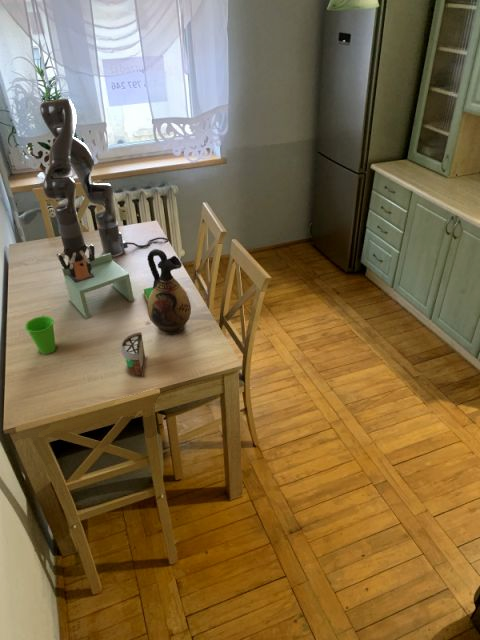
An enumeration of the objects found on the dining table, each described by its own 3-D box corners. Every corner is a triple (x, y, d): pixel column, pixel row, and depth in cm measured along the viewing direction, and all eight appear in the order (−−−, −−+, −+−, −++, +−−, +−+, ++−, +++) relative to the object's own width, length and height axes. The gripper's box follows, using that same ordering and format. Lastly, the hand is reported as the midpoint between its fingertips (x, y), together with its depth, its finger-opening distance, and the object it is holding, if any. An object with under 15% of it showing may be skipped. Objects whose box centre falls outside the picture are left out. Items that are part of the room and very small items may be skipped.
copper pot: (84, 270, 182) (80, 252, 178) (92, 277, 177) (88, 260, 172) (71, 274, 179) (66, 257, 175) (79, 282, 174) (74, 264, 170)
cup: (66, 344, 163) (59, 318, 157) (50, 360, 156) (41, 333, 150) (45, 339, 166) (37, 314, 159) (28, 355, 158) (18, 328, 152)
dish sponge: (161, 290, 192) (160, 285, 190) (169, 306, 181) (169, 301, 180) (144, 294, 190) (143, 288, 188) (152, 311, 179) (151, 305, 178)
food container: (127, 356, 156) (122, 332, 151) (145, 355, 157) (141, 331, 151) (122, 381, 146) (117, 356, 141) (142, 379, 147) (137, 354, 141)
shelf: (116, 284, 197) (109, 252, 188) (133, 300, 186) (127, 266, 177) (70, 301, 187) (61, 268, 178) (86, 318, 176) (77, 284, 168)
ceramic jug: (200, 320, 173) (193, 246, 156) (179, 343, 162) (169, 267, 145) (161, 310, 179) (151, 238, 162) (138, 332, 168) (124, 257, 151)
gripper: (55, 242, 162) (66, 284, 171) (94, 230, 169) (103, 271, 178) (48, 235, 167) (59, 276, 176) (86, 224, 174) (95, 264, 183)
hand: (81, 273), depth 177 cm, fingers closed on copper pot, 5 cm apart
